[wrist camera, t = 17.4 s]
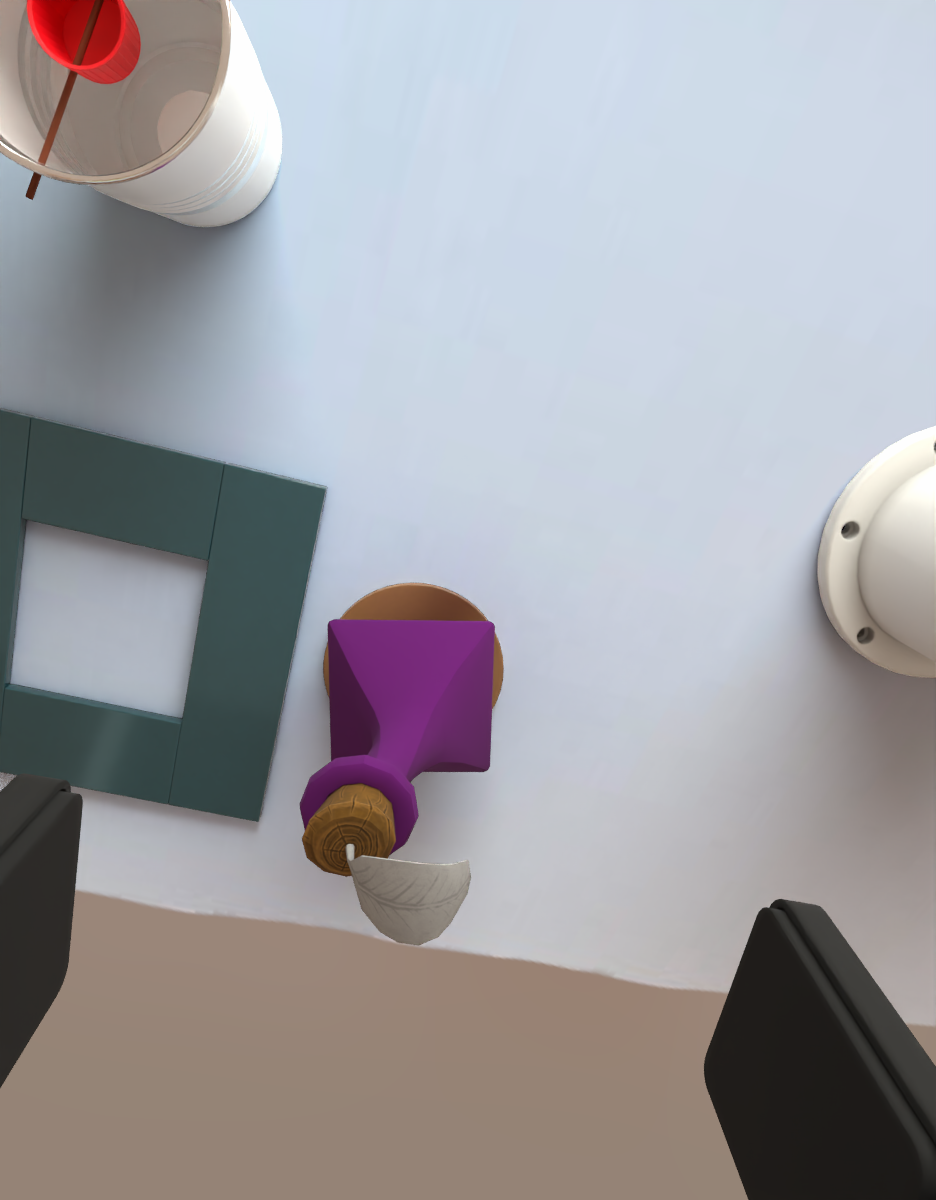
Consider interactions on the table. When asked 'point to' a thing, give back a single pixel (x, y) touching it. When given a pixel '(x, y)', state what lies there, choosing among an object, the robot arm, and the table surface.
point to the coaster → (419, 615)
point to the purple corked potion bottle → (398, 760)
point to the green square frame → (226, 623)
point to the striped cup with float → (140, 104)
